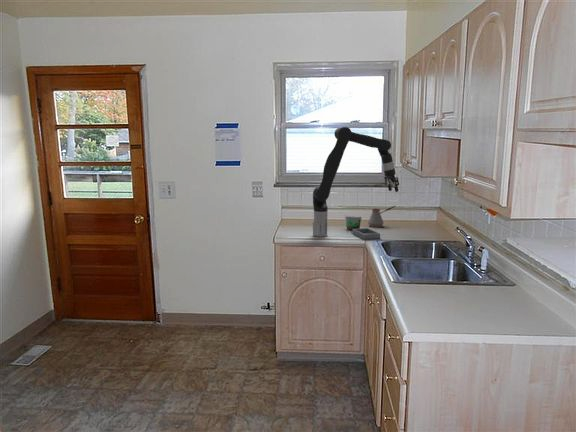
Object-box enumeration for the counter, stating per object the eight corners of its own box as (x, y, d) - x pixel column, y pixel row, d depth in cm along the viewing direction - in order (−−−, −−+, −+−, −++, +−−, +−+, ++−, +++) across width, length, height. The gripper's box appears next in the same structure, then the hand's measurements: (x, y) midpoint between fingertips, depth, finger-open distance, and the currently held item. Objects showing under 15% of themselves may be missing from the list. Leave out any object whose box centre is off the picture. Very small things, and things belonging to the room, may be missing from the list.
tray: (363, 239, 283) (363, 234, 283) (352, 233, 300) (352, 229, 300) (380, 238, 287) (380, 233, 286) (367, 232, 304) (368, 227, 303)
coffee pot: (370, 228, 318) (371, 208, 316) (365, 225, 330) (366, 205, 327) (398, 227, 322) (399, 207, 319) (392, 223, 333) (393, 204, 330)
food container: (342, 230, 312) (342, 216, 310) (345, 228, 318) (345, 215, 316) (358, 231, 307) (359, 218, 305) (361, 230, 312) (361, 216, 310)
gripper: (379, 169, 305) (383, 191, 309) (389, 170, 292) (394, 193, 295) (388, 167, 307) (392, 188, 311) (399, 167, 294) (403, 190, 297)
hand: (393, 191), depth 303 cm, fingers open, 8 cm apart
